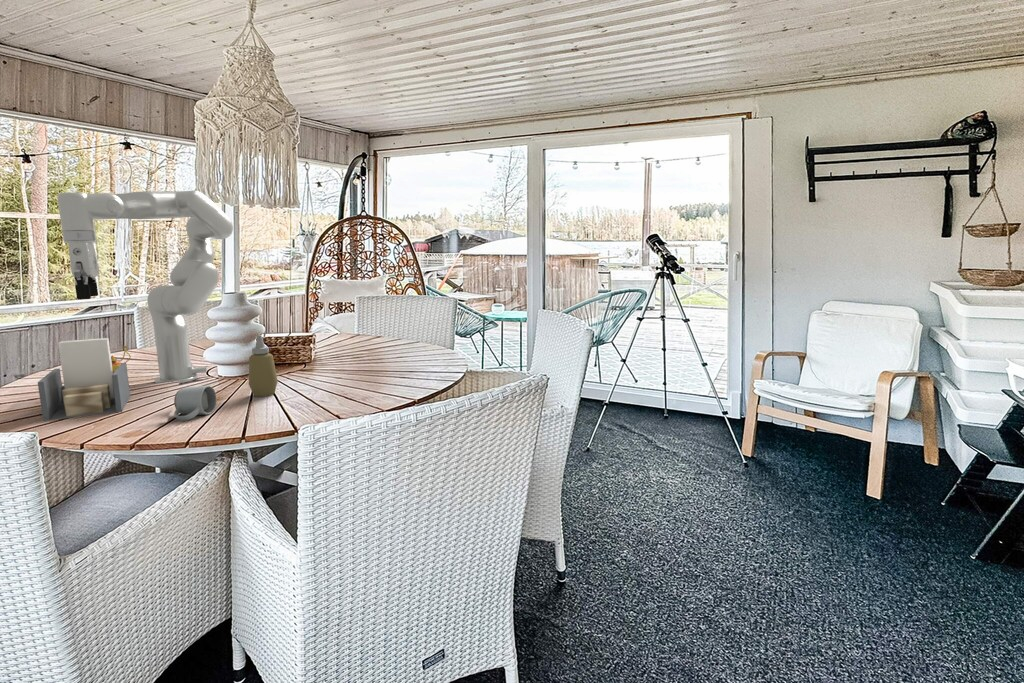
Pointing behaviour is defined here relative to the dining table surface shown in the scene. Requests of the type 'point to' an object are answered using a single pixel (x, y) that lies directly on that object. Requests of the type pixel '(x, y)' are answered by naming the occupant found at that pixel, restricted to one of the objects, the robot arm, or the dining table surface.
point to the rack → (53, 388)
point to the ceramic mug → (194, 402)
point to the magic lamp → (115, 362)
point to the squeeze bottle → (262, 370)
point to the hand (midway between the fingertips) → (88, 297)
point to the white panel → (86, 363)
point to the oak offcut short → (84, 403)
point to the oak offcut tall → (90, 389)
